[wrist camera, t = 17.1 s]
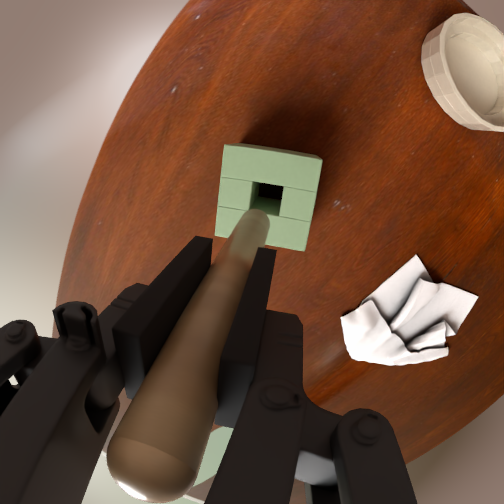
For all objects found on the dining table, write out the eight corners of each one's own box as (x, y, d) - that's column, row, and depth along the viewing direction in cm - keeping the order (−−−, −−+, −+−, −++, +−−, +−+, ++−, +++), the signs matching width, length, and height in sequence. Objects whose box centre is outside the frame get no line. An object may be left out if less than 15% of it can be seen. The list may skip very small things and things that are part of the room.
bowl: (419, 10, 21) (437, -7, 15) (503, 54, 19) (527, 48, 14) (414, 107, 26) (436, 103, 21) (499, 145, 25) (526, 149, 20)
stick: (244, 203, 20) (78, 461, 3) (273, 208, 20) (181, 503, 3) (240, 230, 21) (107, 491, 4) (268, 235, 20) (187, 521, 4)
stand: (238, 143, 31) (224, 144, 25) (317, 155, 30) (322, 159, 24) (229, 216, 35) (214, 235, 28) (303, 229, 34) (304, 251, 27)
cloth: (318, 317, 38) (319, 328, 36) (451, 227, 31) (460, 233, 28) (379, 391, 42) (381, 401, 40) (485, 324, 35) (491, 332, 32)
